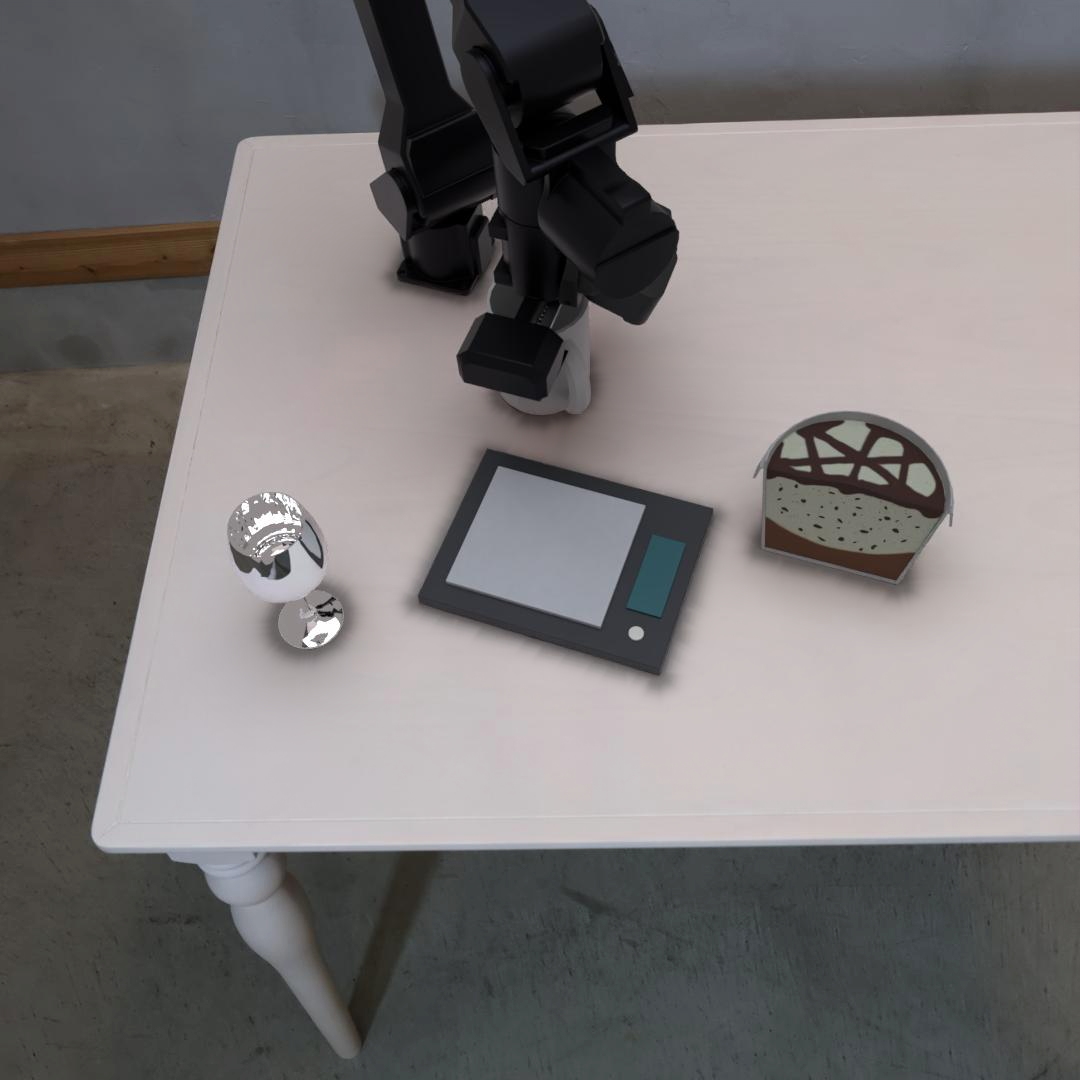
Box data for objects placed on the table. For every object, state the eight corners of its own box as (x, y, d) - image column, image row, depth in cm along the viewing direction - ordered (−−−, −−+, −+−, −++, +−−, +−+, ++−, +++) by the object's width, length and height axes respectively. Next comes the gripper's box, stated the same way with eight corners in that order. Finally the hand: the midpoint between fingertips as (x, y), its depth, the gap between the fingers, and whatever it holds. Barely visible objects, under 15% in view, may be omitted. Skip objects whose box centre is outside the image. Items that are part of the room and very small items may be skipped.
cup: (559, 332, 89) (555, 247, 81) (627, 416, 84) (630, 335, 77) (479, 369, 87) (467, 287, 80) (544, 458, 83) (538, 379, 75)
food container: (935, 516, 78) (975, 429, 70) (920, 590, 75) (960, 508, 67) (760, 474, 81) (778, 384, 72) (739, 543, 78) (756, 458, 69)
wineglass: (286, 672, 74) (236, 582, 64) (257, 605, 77) (204, 508, 67) (366, 634, 76) (329, 540, 65) (334, 569, 78) (294, 469, 68)
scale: (419, 603, 77) (416, 593, 76) (488, 455, 83) (486, 444, 82) (659, 675, 73) (660, 666, 72) (712, 515, 79) (714, 504, 78)
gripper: (620, 334, 64) (617, 486, 77) (708, 124, 73) (692, 294, 86) (440, 291, 67) (467, 446, 80) (546, 93, 75) (555, 263, 89)
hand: (552, 359), depth 84 cm, fingers closed on cup, 7 cm apart
